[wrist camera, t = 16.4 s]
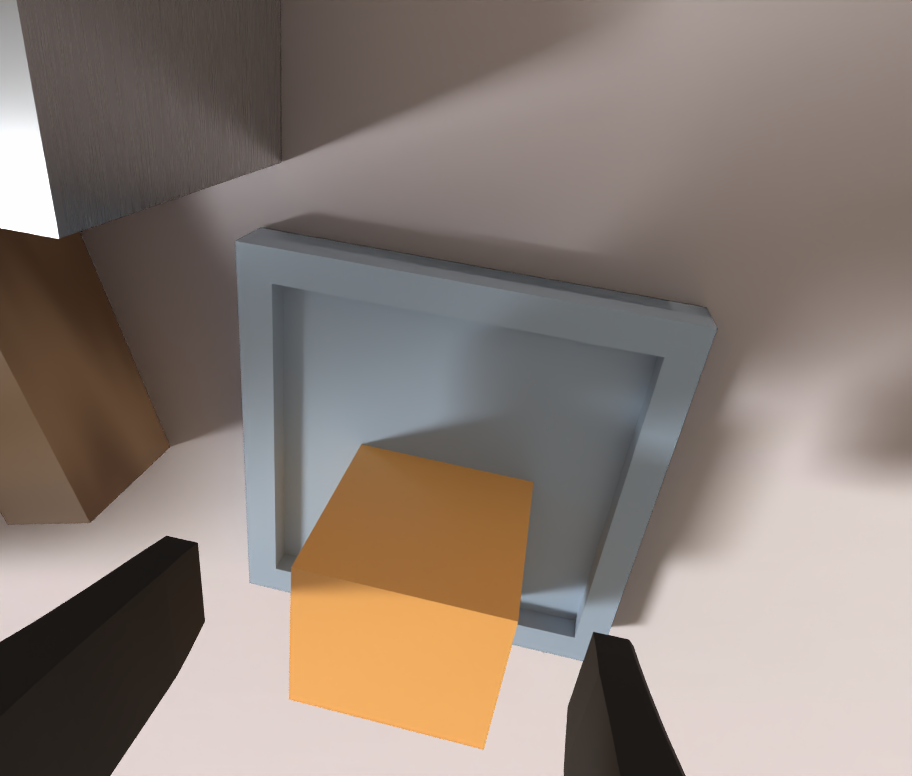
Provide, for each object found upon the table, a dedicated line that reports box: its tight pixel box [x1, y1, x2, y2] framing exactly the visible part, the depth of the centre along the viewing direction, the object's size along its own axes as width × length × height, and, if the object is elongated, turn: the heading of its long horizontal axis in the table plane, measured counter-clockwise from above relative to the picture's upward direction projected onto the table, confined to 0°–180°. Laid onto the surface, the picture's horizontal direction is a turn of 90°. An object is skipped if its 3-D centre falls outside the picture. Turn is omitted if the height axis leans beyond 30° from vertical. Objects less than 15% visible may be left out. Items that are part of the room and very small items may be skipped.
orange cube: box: [289, 444, 533, 750], centre depth 15 cm, size 4×4×4 cm
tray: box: [235, 228, 717, 661], centre depth 16 cm, size 10×10×1 cm
